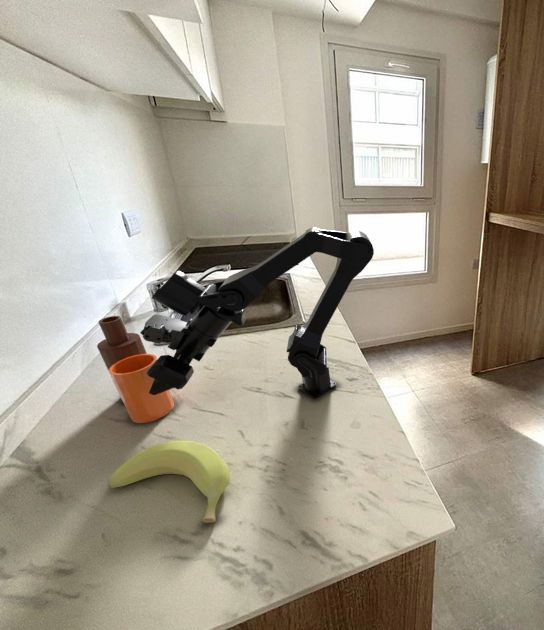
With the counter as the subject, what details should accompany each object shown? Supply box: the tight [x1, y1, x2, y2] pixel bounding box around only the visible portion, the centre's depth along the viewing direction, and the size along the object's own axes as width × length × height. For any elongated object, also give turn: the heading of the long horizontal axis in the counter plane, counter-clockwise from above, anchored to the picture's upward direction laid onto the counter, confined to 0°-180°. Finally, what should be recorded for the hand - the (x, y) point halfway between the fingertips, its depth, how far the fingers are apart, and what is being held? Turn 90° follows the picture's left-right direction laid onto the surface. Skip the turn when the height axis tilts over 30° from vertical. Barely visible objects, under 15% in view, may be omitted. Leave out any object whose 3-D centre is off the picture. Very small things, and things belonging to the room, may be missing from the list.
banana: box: [107, 440, 231, 524], centre depth 53 cm, size 14×6×20 cm
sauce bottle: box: [96, 315, 148, 379], centre depth 71 cm, size 7×7×19 cm
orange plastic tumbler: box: [108, 353, 175, 424], centre depth 68 cm, size 7×7×12 cm
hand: (162, 379), depth 68 cm, fingers open, 9 cm apart
